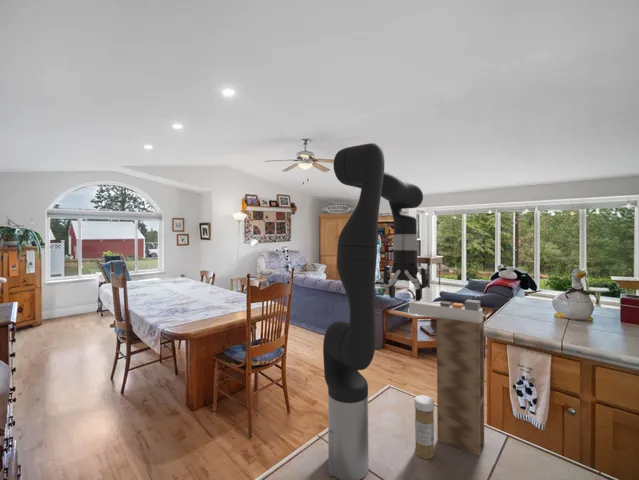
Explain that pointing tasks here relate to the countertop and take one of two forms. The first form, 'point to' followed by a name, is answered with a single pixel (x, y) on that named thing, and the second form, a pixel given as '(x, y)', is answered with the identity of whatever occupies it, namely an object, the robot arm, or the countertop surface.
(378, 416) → the countertop surface
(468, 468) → the countertop surface
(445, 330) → the tall wooden block
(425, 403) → the sprinkles bottle
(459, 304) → the power strip
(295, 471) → the countertop surface
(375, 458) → the countertop surface
